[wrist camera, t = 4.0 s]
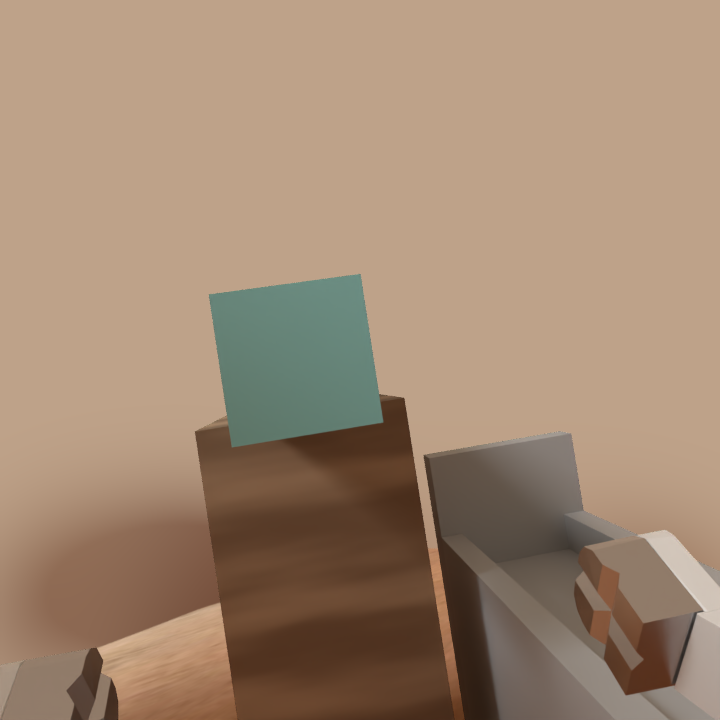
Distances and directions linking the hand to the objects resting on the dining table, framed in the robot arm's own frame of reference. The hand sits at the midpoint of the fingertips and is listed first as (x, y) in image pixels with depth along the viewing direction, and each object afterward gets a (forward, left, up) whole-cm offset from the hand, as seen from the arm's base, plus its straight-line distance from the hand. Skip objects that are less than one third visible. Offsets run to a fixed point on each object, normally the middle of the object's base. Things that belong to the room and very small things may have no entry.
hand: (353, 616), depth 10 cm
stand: (-18, +15, -23) cm, 33 cm away
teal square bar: (-15, +12, +3) cm, 19 cm away
